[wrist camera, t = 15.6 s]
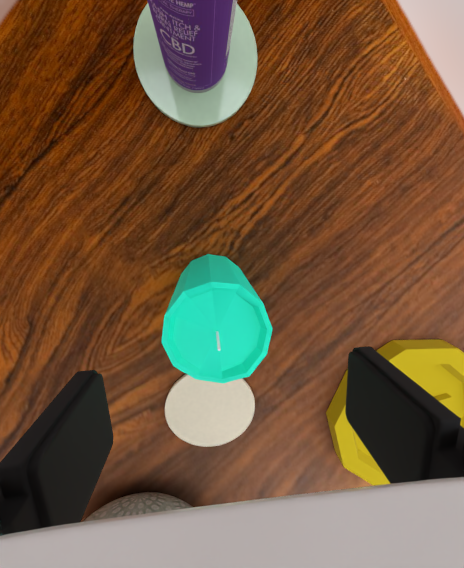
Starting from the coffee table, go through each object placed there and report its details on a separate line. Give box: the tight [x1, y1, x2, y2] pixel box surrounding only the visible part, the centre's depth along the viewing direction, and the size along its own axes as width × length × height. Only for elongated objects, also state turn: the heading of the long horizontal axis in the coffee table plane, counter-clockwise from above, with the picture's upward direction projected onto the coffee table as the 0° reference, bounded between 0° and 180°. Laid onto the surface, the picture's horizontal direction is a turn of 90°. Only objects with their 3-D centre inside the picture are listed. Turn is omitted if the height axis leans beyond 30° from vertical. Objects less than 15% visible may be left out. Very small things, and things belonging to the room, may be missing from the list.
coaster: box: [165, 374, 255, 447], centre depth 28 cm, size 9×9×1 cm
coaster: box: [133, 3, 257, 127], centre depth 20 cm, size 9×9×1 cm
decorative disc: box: [326, 339, 464, 486], centre depth 29 cm, size 17×18×2 cm
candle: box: [162, 254, 273, 383], centre depth 19 cm, size 6×6×12 cm
